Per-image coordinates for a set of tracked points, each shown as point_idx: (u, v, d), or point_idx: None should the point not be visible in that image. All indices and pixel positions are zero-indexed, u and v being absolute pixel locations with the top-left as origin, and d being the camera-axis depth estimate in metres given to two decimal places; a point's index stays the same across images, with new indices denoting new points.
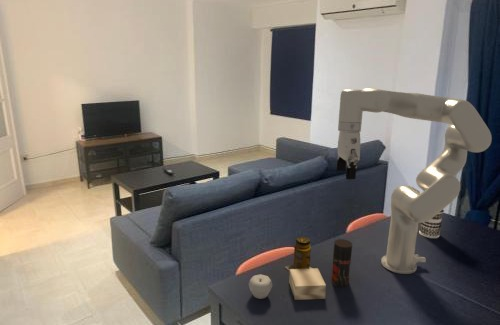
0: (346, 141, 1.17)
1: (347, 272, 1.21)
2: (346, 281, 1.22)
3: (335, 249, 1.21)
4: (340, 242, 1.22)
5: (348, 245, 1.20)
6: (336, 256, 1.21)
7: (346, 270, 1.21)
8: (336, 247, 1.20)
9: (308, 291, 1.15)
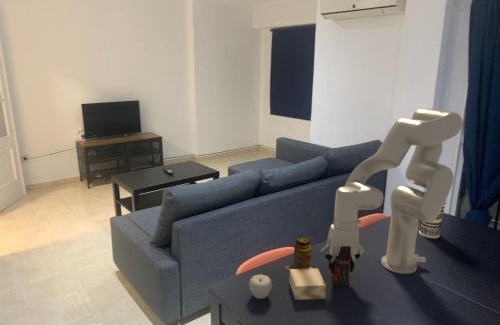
0: (357, 237, 1.19)
1: (347, 272, 1.21)
2: (346, 281, 1.22)
3: None
4: None
5: None
6: (336, 256, 1.21)
7: (346, 270, 1.21)
8: None
9: (308, 291, 1.15)
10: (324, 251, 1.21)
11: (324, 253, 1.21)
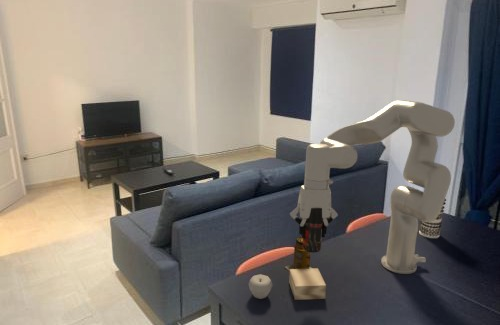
0: (329, 198, 1.10)
1: (318, 237, 1.13)
2: (317, 247, 1.14)
3: None
4: None
5: None
6: None
7: (318, 235, 1.12)
8: None
9: (308, 291, 1.15)
10: (294, 214, 1.12)
11: (294, 216, 1.12)
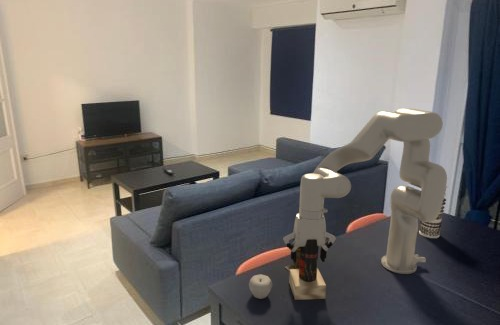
0: (324, 227, 1.12)
1: (314, 266, 1.15)
2: (313, 276, 1.16)
3: None
4: None
5: None
6: (302, 249, 1.15)
7: (313, 265, 1.15)
8: None
9: (308, 291, 1.15)
10: (287, 239, 1.14)
11: (286, 241, 1.14)
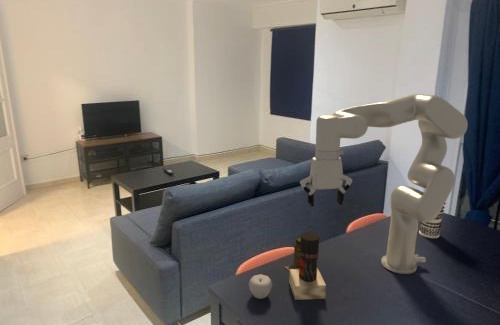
0: (340, 168, 1.13)
1: (314, 267, 1.15)
2: (313, 276, 1.16)
3: (301, 242, 1.15)
4: (307, 235, 1.16)
5: (314, 238, 1.14)
6: (302, 249, 1.15)
7: (313, 265, 1.15)
8: (302, 240, 1.14)
9: (308, 291, 1.15)
10: (304, 182, 1.14)
11: (303, 184, 1.14)
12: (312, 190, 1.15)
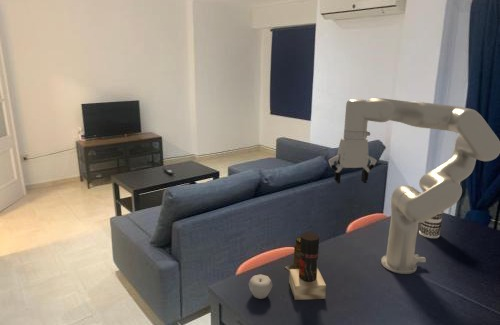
0: (367, 148, 1.22)
1: (314, 267, 1.15)
2: (313, 276, 1.16)
3: (301, 242, 1.15)
4: (307, 235, 1.16)
5: (314, 238, 1.14)
6: (302, 249, 1.15)
7: (313, 265, 1.15)
8: (302, 240, 1.14)
9: (308, 291, 1.15)
10: (332, 160, 1.24)
11: (331, 162, 1.24)
12: (339, 168, 1.24)
